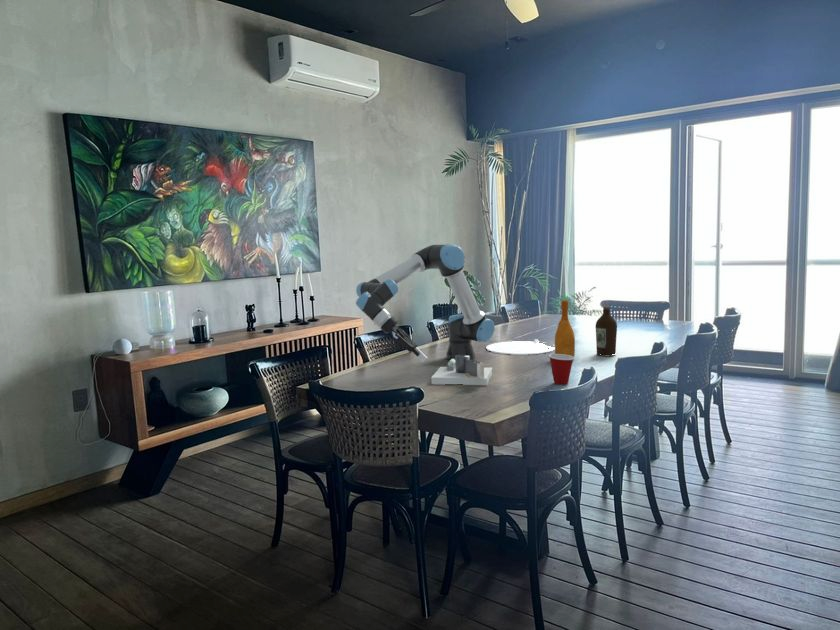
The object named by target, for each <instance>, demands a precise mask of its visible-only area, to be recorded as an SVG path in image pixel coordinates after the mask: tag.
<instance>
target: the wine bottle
mask: <svg viewBox="0 0 840 630" xmlns="http://www.w3.org/2000/svg"><path fill="white" fill-rule="evenodd" d="M560 303H561V305H560V306H561V307H560V309H561V317H560V318H559V320H558V322H557V328H556V331H555V335H554V345H555V351H554V354H565V355H570V356H574V357H575V353H576V352H575V351H576V350H575V348H576V342H575V341H576V340H575V333H574V330H573V327H572V325H571V323H570V319H569V315H568V310H569V301H568V300H561V302H560Z"/></svg>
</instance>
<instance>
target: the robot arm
mask: <svg viewBox="0 0 840 630" xmlns="http://www.w3.org/2000/svg"><path fill="white" fill-rule="evenodd" d="M465 259H466V256H465V253H464V250H463V249H462V248H461V247H460V246H459V245H456V244H451V243H450V244H449V243H447V244H430V245H428V246H426V247H424V248H422V249H420V250H417V252H415V253H412V254H411V255H410V258H408V259H406V260H405V261H403V262H401V263H399V264H397V265H396V266H394V267H392V268H390V269H388V270H387V271H385V272H383V273H381V274H380V275H378V276H376V277H374V278H372V279H371V280H369V281H366V282H365V281H364V282H360V283H359V284H358V285H356V294H357V296H358V298H357V300H356V301H355V305H356V306H357V308H358V309H360V310H361V311H362V312H363V313H364V315H366V316H367V317H368V318H369V319H370V320H371V321H372V322H373V324H374V325H376V326H377V327H378V328H380V330H381V331H382V332H384V334H385V335H386V334H389V333H390V334H391V336H392V337H391V338H392V339H393V340H395V341H396V342H397V343H398V344H400V345H401V346H402V347H403V348H404V349H406V351H408V352H409V354H411V353H412V354H413V355H414V356H415V357H416V358H417V359H418V360H419V361H420V362H421V363H425V361H426V360H427V359H428V356H426V354H424V352H423V351H421V350H420V348H419V347H418V344H416V342H415V341H413V339H412V338H411V337H410V336H409V335H408V333H407V332H406V331H405V330H404V329H403V328H400V327H398V326H397V324H398V322H399V321H398V320H397V319H396V318H395V317H394V316H392V314H391V313H390V312H389V311H388V310H387V309H386V308H385V307H384V306H385V304H386V303H388V302H389V301H390V300H391V299H392V298H394V297H395V296H396V295H397V294H398V292H399V287H398V285H397V284H399V283H402V282H403V281H405V280H406V279H409V278H410V277H411V276H414V275H415V274H416V273H423V272H425V271H426V270H439V274H440V275H441V276H442V278H446V280H447V282H448V285H449V287H450V289H451V291H452V293H453V296H454V299H455V300H456V303H457V304H458V308H459V310H460V311H461V313H462V314H454V315H450V316H449V317H448V323H447V324H448V347H447V350H446V353H445V359H447V360H449V361H450V360H451V359H455V356H456V355H461V354H465V355H470V359H472V360H475V359H476V353H475V350H474V347H473V344H472V341H473V342H474V341H475V342H479V343H481V342H482V343H484V342H485V343H486V342H488V341H490V340H491V338H492V337H493V336H494V333H495V329H496V328H495V327H496V326H495V323H494V321H493V320H492V319H490V318H487V316H486V313H485V312H484V311H483V310H480V307H479V306H478V303H477V300H476V299H475V296H474V293H473V291H472V289H471V287H470V284H469V282H468V279H467V278H466V276H465V273H464V269H465V261H466V260H465ZM361 311H360V312H361Z"/></svg>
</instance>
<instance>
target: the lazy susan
mask: <svg viewBox="0 0 840 630" xmlns="http://www.w3.org/2000/svg"><path fill="white" fill-rule="evenodd" d="M539 342H541V341H540V340H539V339H538V338H537V339H536V338H534V340H533V341H532V340H531V341H529V340H527V341H526V340H522V341H521V340H520V341H519V340H518V341H517V340H516V341H514V340H509V339H508V340H507V341H501V342H500V341H499V342H494V343H490V344H488V345H486V347H485V349H487V350H488V351H487V352H489V351H491V352H490V353H493V352H496V353H495V354H497V353H501V354H500V355H505V354H511V355H510V356H529V355H528V354H538V355H540V354H539V353H545V352H550V351H553V350H555V347H551V346H547V345H545V344H543V343H544V342H543V343H539ZM553 346H555V344H553ZM548 348H549V349H548Z"/></svg>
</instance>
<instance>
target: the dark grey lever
mask: <svg viewBox="0 0 840 630" xmlns="http://www.w3.org/2000/svg"><path fill="white" fill-rule="evenodd" d="M454 364H456V372H458V373H468V374H471V375H473V376H475V377H477V378H479V379H481V378H484V367H485V363H484V362H480V361H477V360H475V359H470V355H465V354H461V355H456V356H455V363H454Z"/></svg>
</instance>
